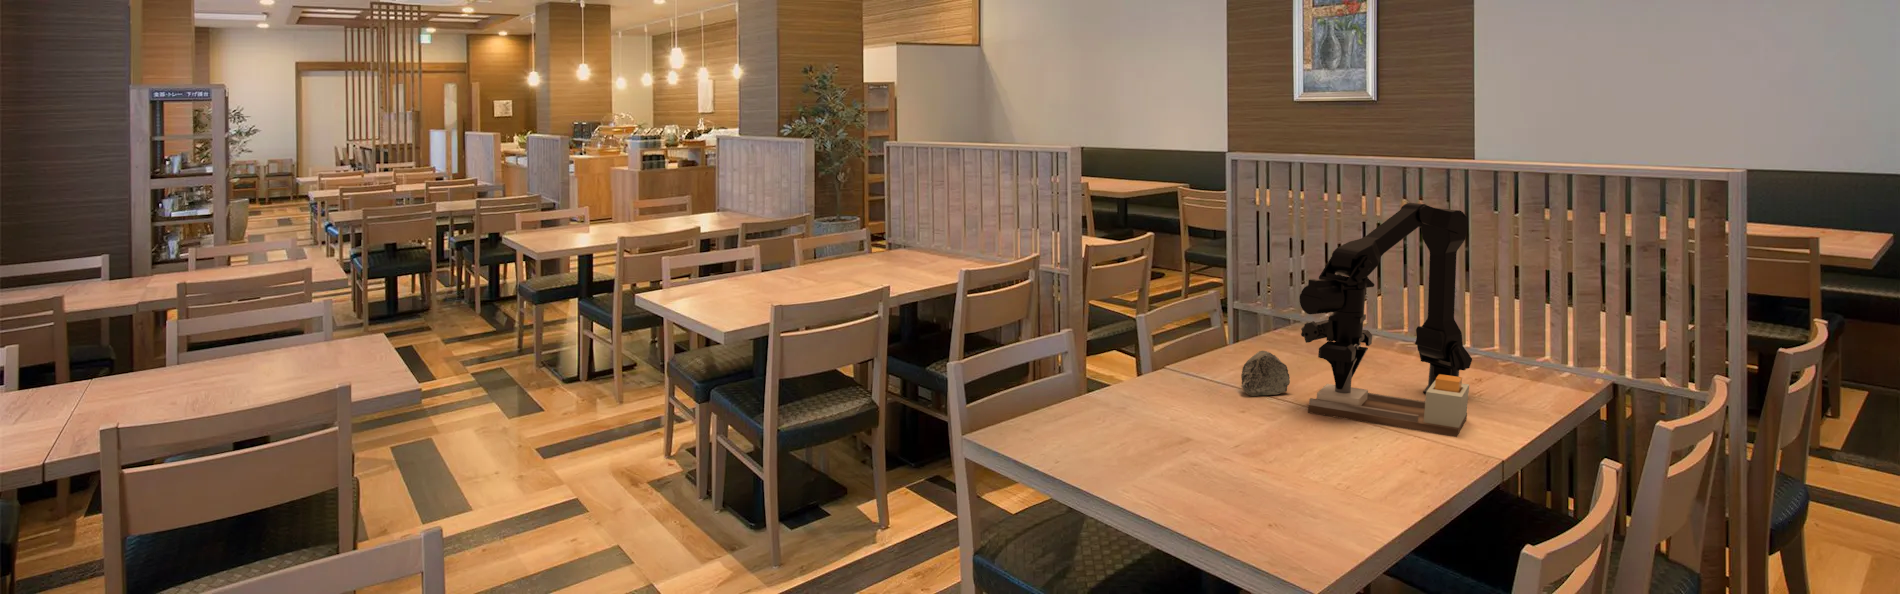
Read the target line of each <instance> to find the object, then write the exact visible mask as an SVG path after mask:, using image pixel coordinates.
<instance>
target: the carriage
mask: <svg viewBox="0 0 1900 594" xmlns="http://www.w3.org/2000/svg"><path fill="white" fill-rule="evenodd" d="M1352 378H1353V377H1352V370H1351V372H1350V374H1349V376H1348V379H1347V381H1346V383H1345V385H1344V387H1343V389H1337V388H1336V384H1333V383H1326V384H1325V385H1324V386H1323V387H1322V388H1320V390H1319V391H1317V392H1316V398H1317V399H1320V400H1326V401H1332V402H1339V403H1345V404H1352V405H1358V406H1361V405H1362V404H1363V403H1364V402H1365V401H1366V400H1367V397H1368V393H1369V390H1368V388H1367V389H1366V388H1359V387H1353V386H1352Z"/></svg>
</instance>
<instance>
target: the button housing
mask: <svg viewBox="0 0 1900 594" xmlns="http://www.w3.org/2000/svg"><path fill="white" fill-rule="evenodd" d="M1435 381H1436V380H1435ZM1435 381H1434V382H1433V384H1432V385H1431V386H1430V388H1429V389H1428V390H1427V392H1426V394H1425V400H1424V401H1425V412H1424V422H1425V423H1431V424H1437V425H1443V426H1450V427H1456V428H1459V427H1460V425H1461V423H1462V421H1463V420H1464V418H1465V416H1466V414H1467V415H1468V402H1469V393H1470V384H1468V383H1462V386H1461V392H1460V393H1457V392H1450V391H1443V390H1436V389H1435Z"/></svg>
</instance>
